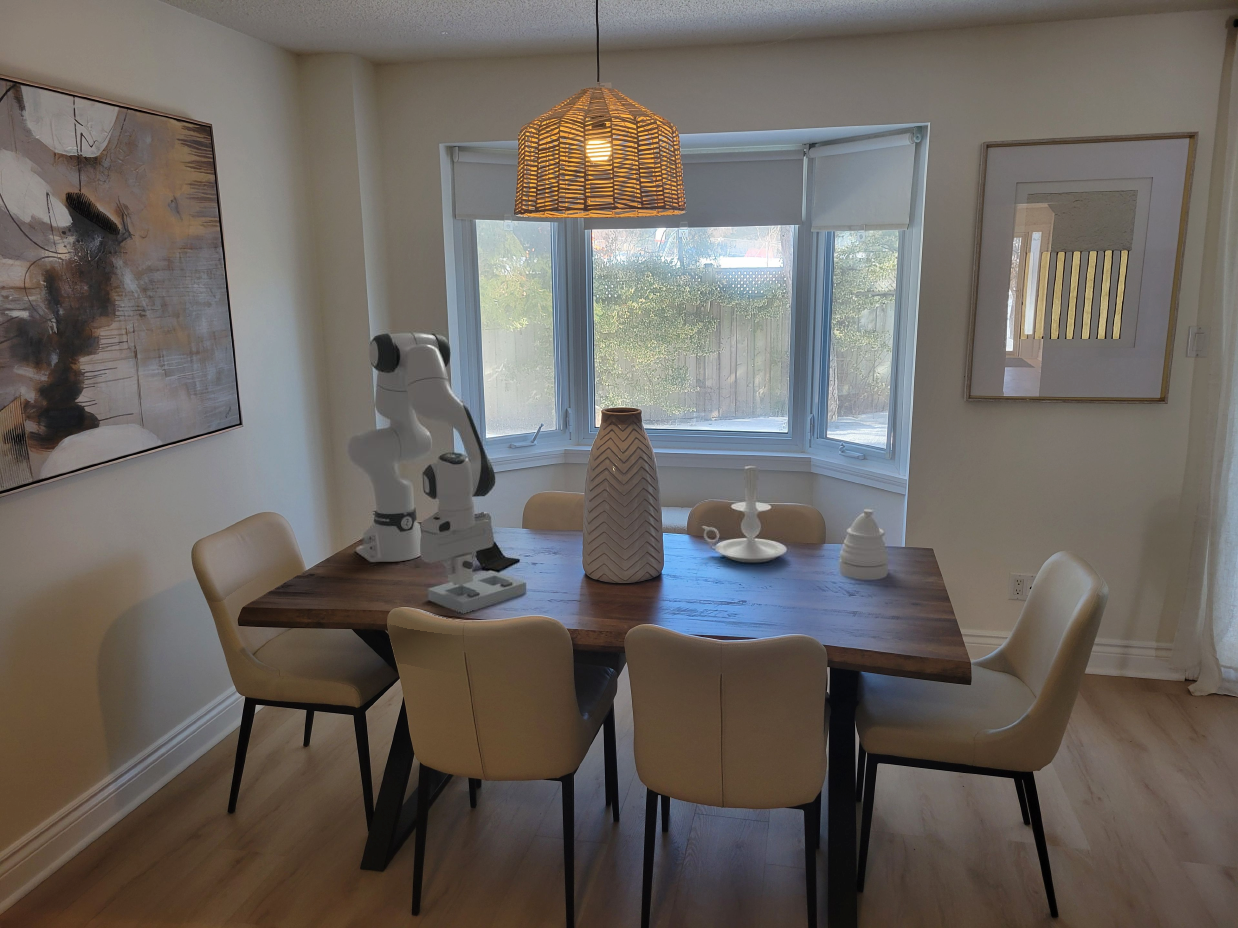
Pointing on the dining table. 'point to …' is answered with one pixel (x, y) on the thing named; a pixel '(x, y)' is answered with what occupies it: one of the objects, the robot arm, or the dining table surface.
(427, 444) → the robot arm
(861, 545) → the honey pot
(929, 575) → the dining table surface
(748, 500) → the candlestick
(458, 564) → the plug
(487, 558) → the handheld gaming console
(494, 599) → the plate
